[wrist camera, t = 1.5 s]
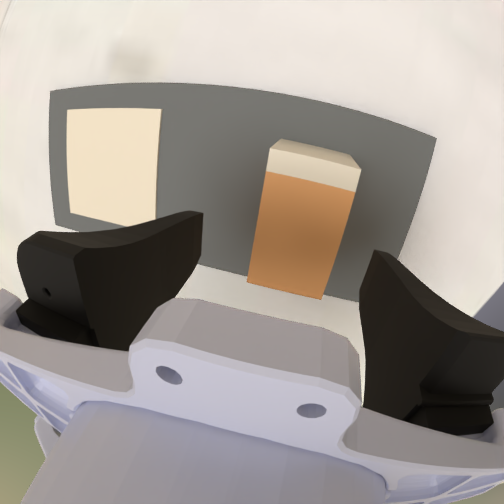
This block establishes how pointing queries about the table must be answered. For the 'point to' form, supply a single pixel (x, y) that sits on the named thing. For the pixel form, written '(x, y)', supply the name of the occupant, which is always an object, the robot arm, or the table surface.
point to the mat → (255, 166)
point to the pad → (113, 163)
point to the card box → (301, 217)
